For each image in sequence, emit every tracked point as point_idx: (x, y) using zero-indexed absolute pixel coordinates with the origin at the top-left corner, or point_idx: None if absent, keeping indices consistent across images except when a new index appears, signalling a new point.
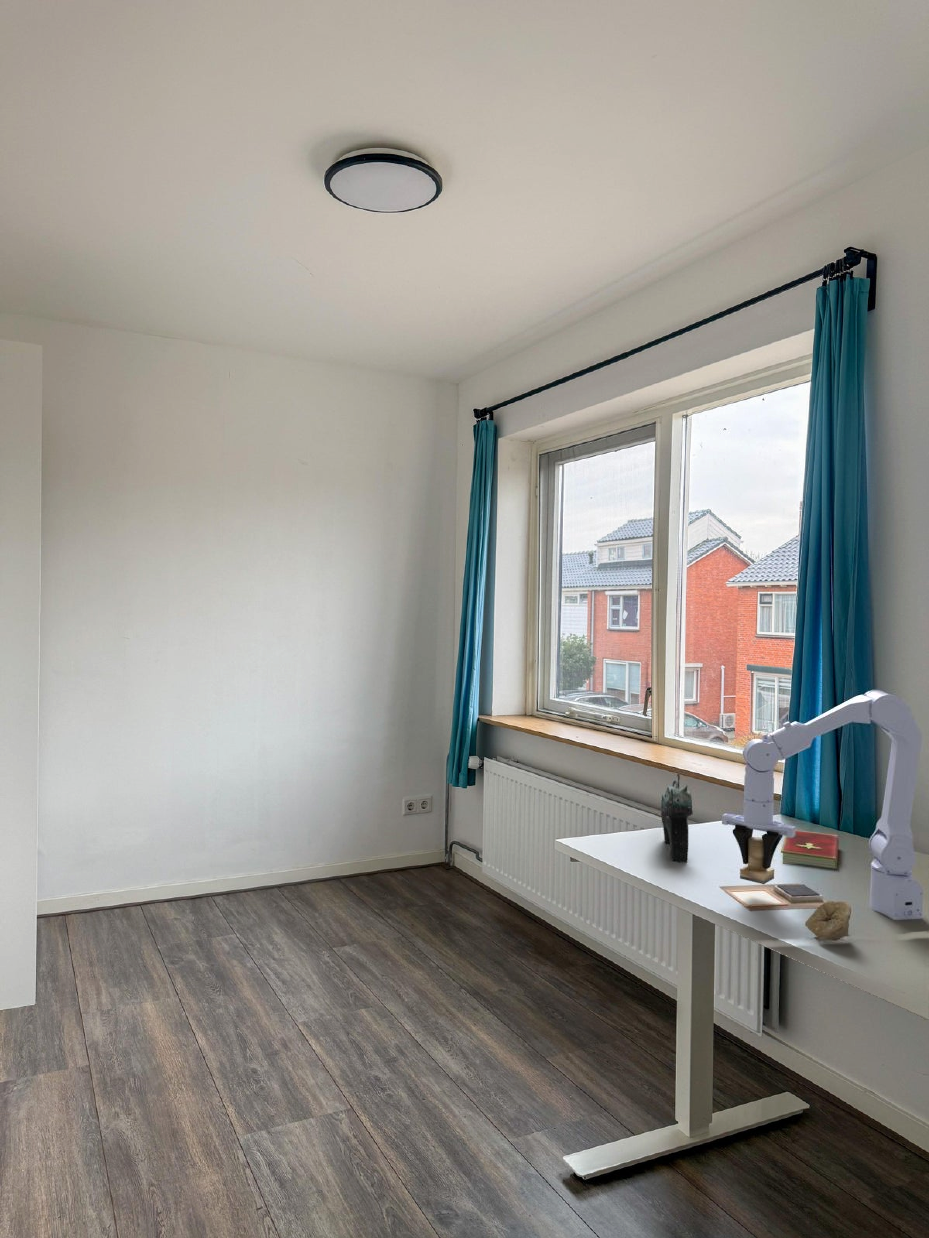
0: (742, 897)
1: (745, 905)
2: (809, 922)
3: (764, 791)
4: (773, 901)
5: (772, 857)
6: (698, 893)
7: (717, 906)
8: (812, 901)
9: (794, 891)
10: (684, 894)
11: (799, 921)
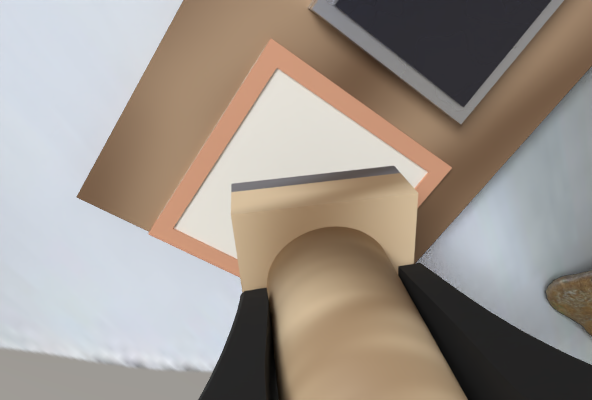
0: None
1: None
2: (578, 300)
3: None
4: None
5: (465, 297)
6: (56, 280)
7: (213, 332)
8: None
9: (454, 31)
10: (33, 331)
11: (510, 230)
